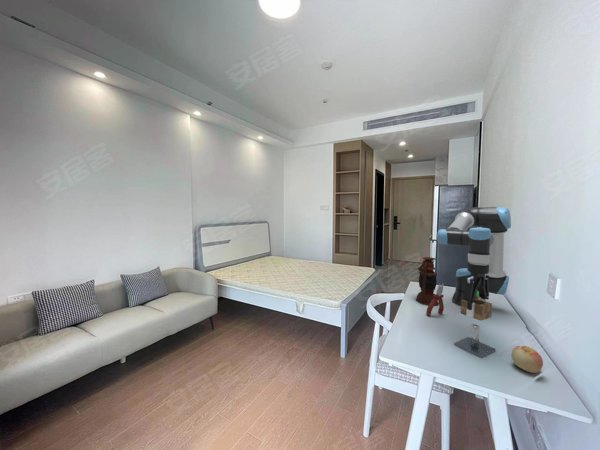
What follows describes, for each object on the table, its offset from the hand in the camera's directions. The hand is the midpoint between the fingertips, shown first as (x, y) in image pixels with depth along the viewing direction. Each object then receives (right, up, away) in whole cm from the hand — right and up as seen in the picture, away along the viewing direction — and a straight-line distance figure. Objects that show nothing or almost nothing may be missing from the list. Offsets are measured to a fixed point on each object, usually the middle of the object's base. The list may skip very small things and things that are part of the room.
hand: (475, 314), depth 106 cm
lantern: (+7, -12, +54) cm, 56 cm away
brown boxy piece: (0, 0, 0) cm, 0 cm away
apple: (+10, -16, -13) cm, 23 cm away
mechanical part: (+47, -11, +70) cm, 85 cm away
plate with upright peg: (0, -15, +1) cm, 15 cm away
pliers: (+1, -13, +34) cm, 37 cm away
